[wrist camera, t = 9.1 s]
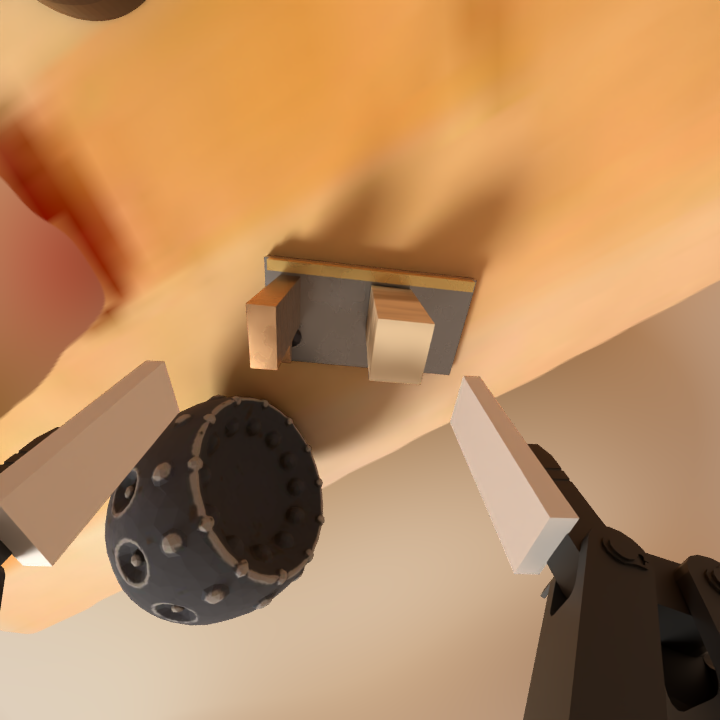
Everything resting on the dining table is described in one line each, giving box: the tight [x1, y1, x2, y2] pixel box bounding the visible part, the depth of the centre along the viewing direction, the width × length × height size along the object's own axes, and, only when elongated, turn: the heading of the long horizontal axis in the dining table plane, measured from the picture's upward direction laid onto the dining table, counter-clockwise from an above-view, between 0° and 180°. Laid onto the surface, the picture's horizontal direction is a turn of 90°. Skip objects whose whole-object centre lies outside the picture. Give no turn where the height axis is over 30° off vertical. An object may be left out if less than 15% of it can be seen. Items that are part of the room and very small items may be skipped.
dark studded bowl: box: [105, 395, 324, 625], centre depth 30 cm, size 11×20×20 cm, turn 32°
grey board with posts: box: [246, 255, 477, 375], centre depth 27 cm, size 11×21×11 cm, turn 84°
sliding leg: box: [365, 285, 435, 385], centre depth 26 cm, size 8×4×10 cm, turn 174°
